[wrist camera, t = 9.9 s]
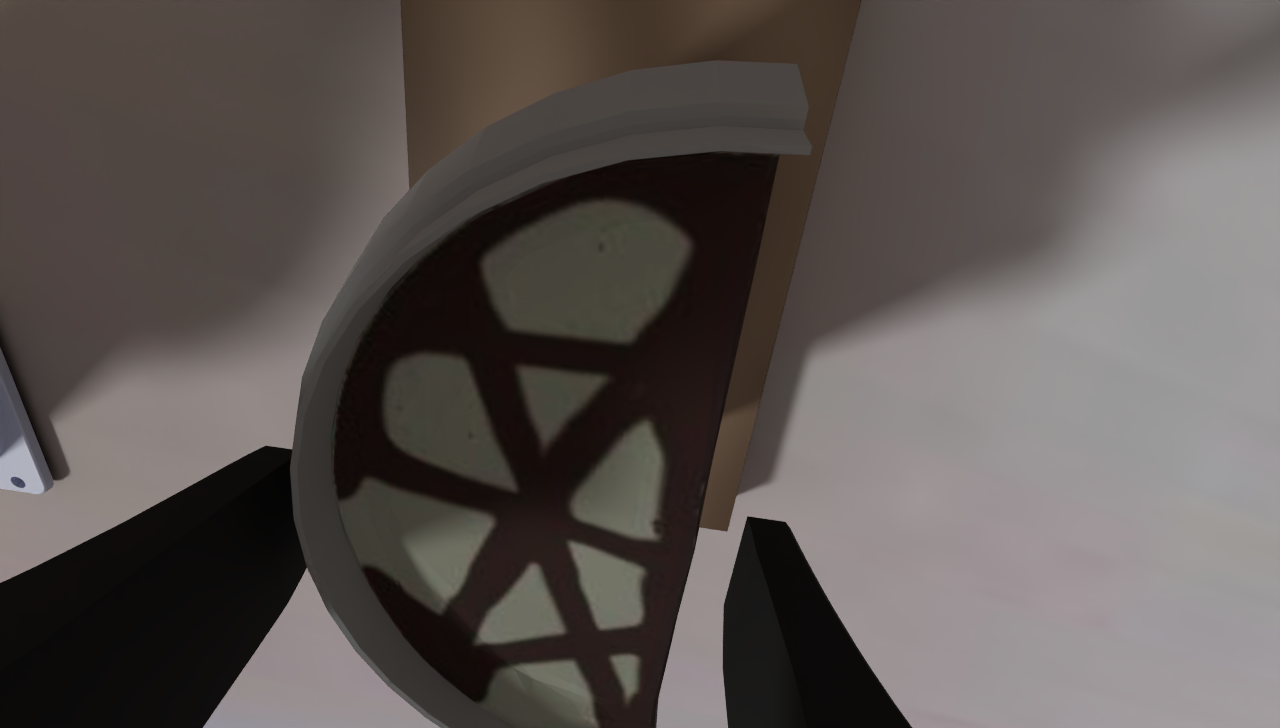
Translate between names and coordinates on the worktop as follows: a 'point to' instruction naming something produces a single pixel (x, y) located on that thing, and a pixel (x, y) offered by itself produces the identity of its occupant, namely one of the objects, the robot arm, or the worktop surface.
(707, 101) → the food container
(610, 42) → the walnut base
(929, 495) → the worktop surface
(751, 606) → the robot arm
